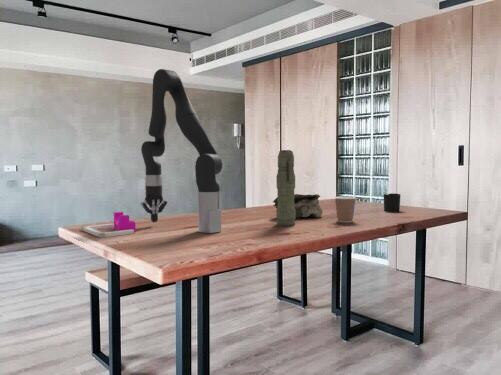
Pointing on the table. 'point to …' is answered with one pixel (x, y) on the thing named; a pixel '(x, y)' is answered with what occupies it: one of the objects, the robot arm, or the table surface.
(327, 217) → the table surface
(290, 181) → the green stone statue
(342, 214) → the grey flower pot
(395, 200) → the pen holder
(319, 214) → the hollow geode rock
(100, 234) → the frame
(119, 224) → the toy block
